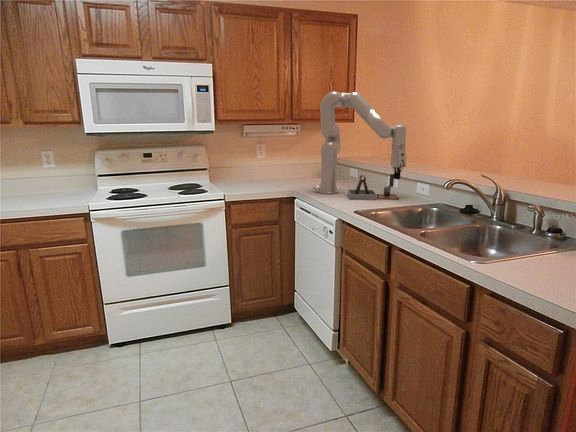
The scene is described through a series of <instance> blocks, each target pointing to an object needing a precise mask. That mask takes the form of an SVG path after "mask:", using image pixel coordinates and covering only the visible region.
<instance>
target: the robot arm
mask: <svg viewBox="0 0 576 432" xmlns="http://www.w3.org/2000/svg"><path fill="white" fill-rule="evenodd" d="M335 108H352V109H353V110H354V111H355V112H356V114H358V115H359V116H360V118H361V119H362V120H363V121H364V122H365V123H366V124H367V126H368V127H369V128H370V129H371V130H372V131H373V132H374V133H375V134H376V135H377V136H378V137H379V138H380V139H388V138H389V139H391V154H390V166H391V168H392V169H393V174H394V180H401V172H402V170H404V168H405V167H406V166H407V151H406V144H407V143H406V141H407V140H406V139H407V126H406V125H405V124H395V125H389V124H387V123H386V122H385V121H384V120H383V118H381V117H380V115H379V114H378V112H377V110H376V109H375V108H374V107H373V105H371V103H370V102H369V101H367V99H366V98H365V97H364V96H363V94H362V93H360V92H359V91H352V92H339V91H335V90H333V91H329V92H328V93H326V94H325V95H324V96H323V98H322V99H321V101H320V106H319V110H320V111H319V116H320V132H321V135H322V137H324V140H325V142H324V143H322V145H321V148H320V157H321V159H320V160H321V162H320V163H321V172H320V175H321V176H320V185H314V186H313V190H317V191H318V193H319V194H324V195H336V194H339V192H340V191H339V190H338V189H337V182H338V181H337V180H338V179H337V178H338V177H337V176H338V154H339V153H340V151H341V145H342V144H341V131H340V127H339V126H338V124H337V123H336V116H335V114H336V113H335Z"/></svg>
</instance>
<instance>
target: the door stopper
mask: <svg viewBox="0 0 576 432" xmlns="http://www.w3.org/2000/svg"><path fill="white" fill-rule="evenodd" d="M362 178H363V179H362ZM366 180H367V178H366V176H365V175H364V174H363V175H362V174H361V175H359V181H358V183H357V186H356V187H355V189H354V190H355V192H354V194H358V193H359V190H361V186H362V184H363V187H364V190H365V193H366V194H369V191H368V190H369V188H368V185H367V182H366Z"/></svg>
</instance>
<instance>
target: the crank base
mask: <svg viewBox="0 0 576 432" xmlns="http://www.w3.org/2000/svg"><path fill="white" fill-rule="evenodd" d="M376 194H377V200H385V201H387V200H392V201H396V200H397V201H400V197H399V196H398V195H397V194H396V193H394V194H393V193H390V196H384V193H376Z"/></svg>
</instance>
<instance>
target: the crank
mask: <svg viewBox="0 0 576 432" xmlns="http://www.w3.org/2000/svg"><path fill="white" fill-rule="evenodd" d="M394 180H395V179H394V173H390V174H389V185H388V186H384V187H383V194H384V196H390V194H391V189H393V188H394V184H395V183H394V182H395V181H394Z"/></svg>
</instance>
